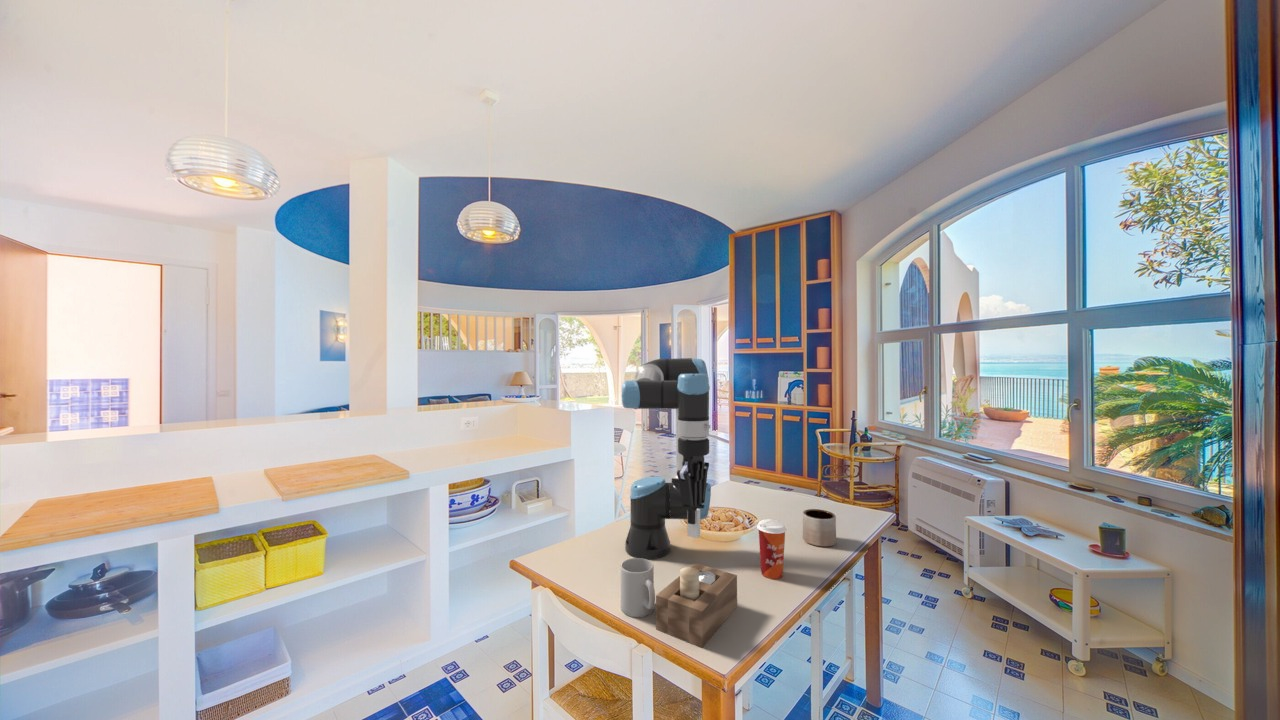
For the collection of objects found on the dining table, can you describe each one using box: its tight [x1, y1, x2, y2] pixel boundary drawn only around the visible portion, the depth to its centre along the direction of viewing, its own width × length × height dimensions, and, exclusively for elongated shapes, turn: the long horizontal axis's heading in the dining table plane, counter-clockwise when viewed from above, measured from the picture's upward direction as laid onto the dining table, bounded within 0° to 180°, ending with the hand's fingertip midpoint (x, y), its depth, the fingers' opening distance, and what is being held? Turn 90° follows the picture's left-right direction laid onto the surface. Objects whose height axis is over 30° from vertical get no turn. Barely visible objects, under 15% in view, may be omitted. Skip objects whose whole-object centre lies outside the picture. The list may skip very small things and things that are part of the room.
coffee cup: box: [756, 518, 787, 580], centre depth 131 cm, size 8×8×15 cm
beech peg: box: [679, 566, 699, 601], centre depth 105 cm, size 4×4×8 cm
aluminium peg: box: [699, 571, 715, 585], centre depth 113 cm, size 4×4×8 cm
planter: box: [802, 508, 837, 548], centre depth 155 cm, size 11×11×10 cm
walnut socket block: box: [655, 562, 738, 649], centre depth 109 cm, size 12×20×8 cm, turn 146°
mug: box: [620, 557, 656, 618], centre depth 112 cm, size 12×8×11 cm
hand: (693, 535), depth 106 cm, fingers closed
